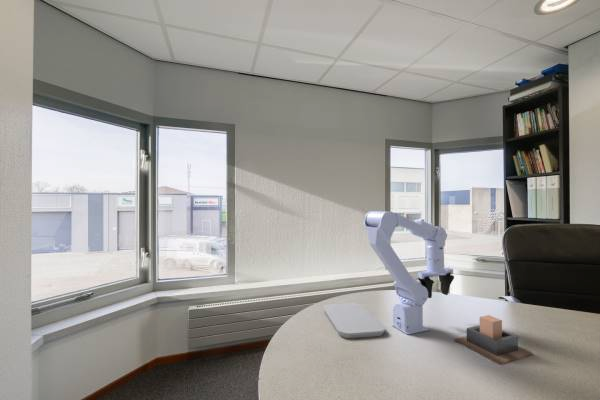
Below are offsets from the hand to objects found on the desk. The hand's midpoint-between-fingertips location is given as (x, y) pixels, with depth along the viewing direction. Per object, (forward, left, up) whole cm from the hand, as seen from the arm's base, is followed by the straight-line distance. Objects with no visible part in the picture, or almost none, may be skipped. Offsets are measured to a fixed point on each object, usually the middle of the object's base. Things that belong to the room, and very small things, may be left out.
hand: (436, 295), depth 101 cm
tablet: (-29, +11, -10) cm, 33 cm away
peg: (+1, -19, -9) cm, 21 cm away
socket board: (+1, -20, -10) cm, 22 cm away
